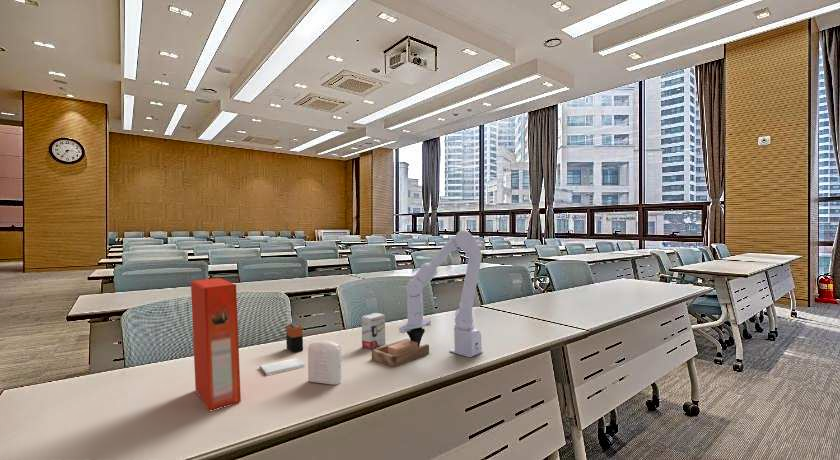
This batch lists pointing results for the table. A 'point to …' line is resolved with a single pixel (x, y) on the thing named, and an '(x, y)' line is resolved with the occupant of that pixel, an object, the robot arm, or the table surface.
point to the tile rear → (410, 344)
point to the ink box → (373, 330)
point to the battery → (294, 337)
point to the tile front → (397, 349)
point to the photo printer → (324, 362)
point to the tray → (394, 360)
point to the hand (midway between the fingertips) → (415, 348)
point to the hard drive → (282, 366)
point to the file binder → (216, 342)
